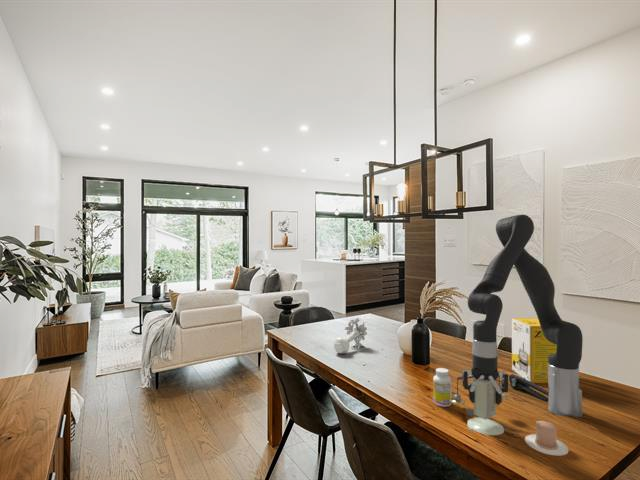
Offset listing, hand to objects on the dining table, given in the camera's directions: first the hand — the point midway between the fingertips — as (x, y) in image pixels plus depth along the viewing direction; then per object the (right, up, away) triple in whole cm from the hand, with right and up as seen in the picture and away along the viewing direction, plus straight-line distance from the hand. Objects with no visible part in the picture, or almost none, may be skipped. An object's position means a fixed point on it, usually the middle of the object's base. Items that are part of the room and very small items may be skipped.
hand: (484, 402), depth 116 cm
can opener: (+31, -9, +28) cm, 43 cm away
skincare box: (0, -4, 0) cm, 4 cm away
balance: (+2, -9, +9) cm, 12 cm away
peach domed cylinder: (+13, -7, -11) cm, 19 cm away
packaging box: (+46, -9, +45) cm, 65 cm away
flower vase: (-37, -9, +86) cm, 94 cm away
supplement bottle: (-8, -9, +19) cm, 22 cm away
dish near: (+13, -9, -11) cm, 19 cm away
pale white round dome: (0, -9, 0) cm, 9 cm away
